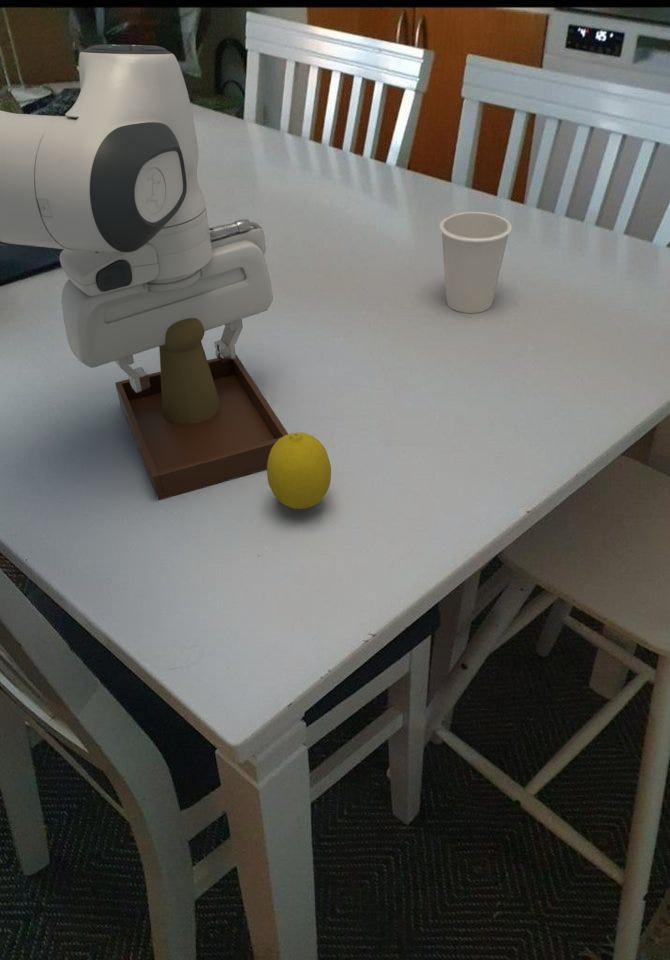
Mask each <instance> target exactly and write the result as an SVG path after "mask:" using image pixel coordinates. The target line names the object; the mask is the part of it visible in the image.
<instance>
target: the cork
mask: <svg viewBox="0 0 670 960" xmlns="http://www.w3.org/2000/svg"><path fill="white" fill-rule="evenodd" d="M205 332H206V331H204V328H203V325H202V323H201V321H199V320H198V319H197V318H189V319H184V320H181V321H178V322H176V323H174V324H172V325H171V326H170V327H169V328H168V329H167V331H166V337H165V344H164V345H161V346H158V349H159V365H160V367H159V369H160V370H159V371H161V390H162V410H163V415H164V416H165V417H166V418H167V419H168V420H170V421H172V422H175V423H180V424H193V423H198V422H202V421H205V420H207V419H209V418H211V417H212V416H214V415H215V414H216V413H217V412H218V411H219V409H220V406H221V404H220V400H219V397H218V394H217V390H216V387H215V384H214V381H213V378H212V374H211V371H210V368H209V365H208V361H207V360H208V359H207V355H206V353H205V348H204V345H203V342H202V340H203V339H204V336H205Z"/></svg>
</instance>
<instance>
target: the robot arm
mask: <svg viewBox="0 0 670 960" xmlns="http://www.w3.org/2000/svg"><path fill="white" fill-rule="evenodd" d="M78 55H79V56H78V72H79V73H78V74H79V85H80V92H79V94H78V96H77V98H76V101H75V102H74V104H73V105H72V107H70V109H69V110H68V111H67V112H66V113H65V114H64V116H62V115H45V114H28V113H15V112H9V111H4V110H1V109H0V246H28V247H39V248H48V249H57V250H62V251H61V252H60V254H59V263H60V266H61V269H62V270H63V272H64V274H65V276H66V277H67V278H68V280H66V281H65V283H64V284H63V285H64V286H63V288H62V291H61V309H62V319H63V324H64V329H65V334H66V339H67V344H68V346H69V348H70V350H71V353H72V354H73V355H74V357H75V358H76V359H77V360H78V361H79V362H80V363H81V364H83V365H85V366H86V367H88V368H90V369H91V368H92V369H94V368H97V367H100V366H103V365H106V364H109V363H112V362H114V363H116V365H117V366H118V367H119V368H120V369H121V370H122V371H123V372H124V373H125V374H127V376H128V379H129V381H130V384H131V386H132V388H133V389H134V391H135V392H136V393H138V392H141V391H144V390H146V389H149V388H151V385H150V383H149V376H148V374H149V373H148V372H147V371H146V370H144V368H143V367H142V366H139V367H136V368H133V367H132V366H131V365H133V364H134V363H135V361H134V355H136V354H140V353H142V352H145V351H149V350H152V349H155V348H159V346H161V345H164V344H165V337H166V331H167V329H168V328H169V327H170V326H171V325H172V324H174V323H176V322H178V321H181V320H184V319H189V318H197V319H198V320H199V321H201V323H202V325H203V328H204V331H205V332H206V331H210V330H213V329H216V328H219V327H222V326H224V328H223V330H222V334H221V337H220V339H218V340H215V341H214V342H213V345H214V346H213V347H214V348H215V351H214V352H215V356H216V358H218V359H219V360H221V362H222V363H223V362H226V361H229V360H232V359H235V358H236V355H237V354H236V353H237V352H236V346H235V345H236V344H237V342H238V339H239V337H240V335H241V332H242V330H243V328H244V325H243V319H246V318H249V317H252V316H255V315H258V314H261V313H264V312H267V311H268V310H269V308H270V306H271V304H272V302H273V301H274V293H273V292H274V291H273V286H272V281H271V277H270V272H269V268H268V264H267V260H266V258H265V254H266V246H267V245H266V235H265V232H264V230H263V228H262V226H261V225H260V224H258V222H254V221H249V219H248V218H243V219H238V220H235V221H234V222H231V223H227V224H220V225H216V226H212V227H210V224H209V218H208V212H207V211H208V210H207V202H206V199H205V196H204V194H203V191H202V189H201V186H200V183H199V178H198V167H199V160H200V153H199V146H198V145H199V143H198V137H197V133H196V132H197V131H196V127H195V126H196V125H195V121H194V115H193V110H192V105H191V101H190V97H189V93H188V89H187V85H186V82H185V81H186V80H185V78H184V75H183V72H182V69H181V67H180V63H179V61H178V60H177V57H176V55H175V54H174V53H172V52H171V51H169V50H167V49H166V48H164V47H162V46H160V45H159V46H158V45H151V44H150V45H148V44H147V45H145V44H144V45H143V44H114V43H103V44H100V43H99V44H94V45H91V46H87V47H86V48H85V49H82V50H81V51H80V52H79V54H78Z"/></svg>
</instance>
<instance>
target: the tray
mask: <svg viewBox="0 0 670 960" xmlns="http://www.w3.org/2000/svg"><path fill="white" fill-rule="evenodd" d="M207 361H208V365H209V368H210V371H211V374H212V378H213V381H214V384H215V387H216V390H217V394H218V397H219V400H220V404H221V406H220V409H219V411H218V412H217V413H216V414H215V415H214V416H212V417H211V418H209V419H207V420H205V421H202V422H198V423H193V424H180V423H175V422H172V421H170V420H168V419H167V418H166V417H165V416H164V415H163V410H162V390H161V370H159V371H157V372H153V373H147V374H148V376H149V383H150V385H151V388H149V389H146V390H144V391H141V392H138V393H136V392H135V391H134V389H133V388H132V386H131V384H130V381H129V378H128V379H127V378H126V379H124V380H123V379H122V380H119V381H115V382H114V385H115V389H116V392H117V397H118V400H119V405H120V406H121V410H122V412H123V415H124V417H125V420H126V423H127V425H128V427H129V430H130V433H131V435H132V438H133V440H134V443H135V445H136V448H137V450H138V453H139V455H140V458H141V460H142V463H143V465H144V468H145V470H146V473H147V475H148V478H149V479H150V483H151V485H152V488H153V491H154V493H155V496H156V498H157V501H161V500H164V499H168V498H170V497H173V496H178V495H181V494H185V493H188V492H191V491H195V490H199V489H202V488H205V487H209V486H212V485H216V484H218V483H223V482H226V481H230V480H233V479H237V478H240V477H244V476H247V475H251V474H255V473H257V472H261V471H265V470H267V462H268V457H269V454H270V451H271V449H272V447H273V446H274V444H275V443H276V442H277V441H278V440H279V439H280V438H282V437H283V436H285V435H287V434H289V433H288V431H287V430H286V428H285V427H284V425H283V424H282V421H280V419H279V417H278V416H277V414H276V413H275V411H274V410H273V408H272V407H271V405H270V404H269V402H268V401H267V399H266V397H265V396H264V395H263V393H262V391H261V390H260V389H259V386H257V384H256V382H255V381H254V379H253V378H252V376H251V375H250V373H249V372H248V370H247V368H246V367H245V366H244V364H243V362H242V361H241V359H240V358H239V356H238V355H237V354H236V358H235V359H232V360H229V361H226V362H223V363H222V362H221V360H219V359H218V358H217V357H215V358H209V359H207Z"/></svg>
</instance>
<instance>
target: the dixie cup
mask: <svg viewBox="0 0 670 960" xmlns="http://www.w3.org/2000/svg"><path fill="white" fill-rule="evenodd" d="M512 228H513V227H512V224H511V223H510V221H508V219H506V218H504V217H503V216H500V215H498V214H495V213H491V212H484V211H463V212H458V213H457V212H456V213H453V214H450V215H448V216H446V217H445V218H444V219H442V220H441V221H440V223H439V230H440V232H441V242H442V255H443V269H444V271H443V272H444V285H445V286H444V287H445V297H446V298H445V299H446V300H445V301H446V305H447V306H448V307H449V308H450V309H452V310H453V311H456V312H459V313H463V314H478V313H483V312H485V311H487V310H489V309H490V308H491V307H493V303H494V299H495V294H496V290H497V286H498V285H497V284H498V282H499V277H500V273H501V269H502V266H503V265H502V264H503V260H504V256H505V252H506V248H507V243H508V239H509V235H510V234H511V232H512Z"/></svg>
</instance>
